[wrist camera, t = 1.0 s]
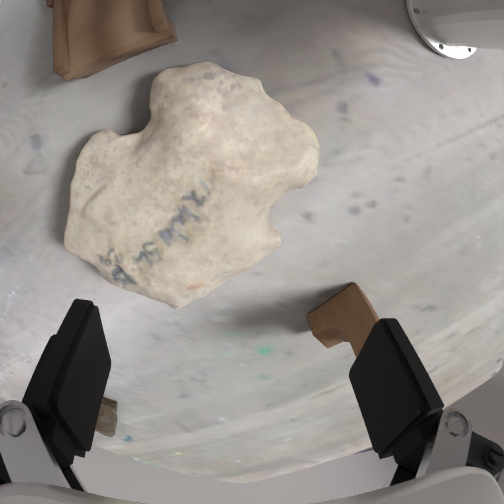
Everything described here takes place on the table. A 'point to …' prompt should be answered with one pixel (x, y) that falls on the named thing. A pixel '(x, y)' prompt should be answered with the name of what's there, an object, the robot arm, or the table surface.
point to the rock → (188, 185)
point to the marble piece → (107, 417)
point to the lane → (105, 33)
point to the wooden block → (344, 319)
